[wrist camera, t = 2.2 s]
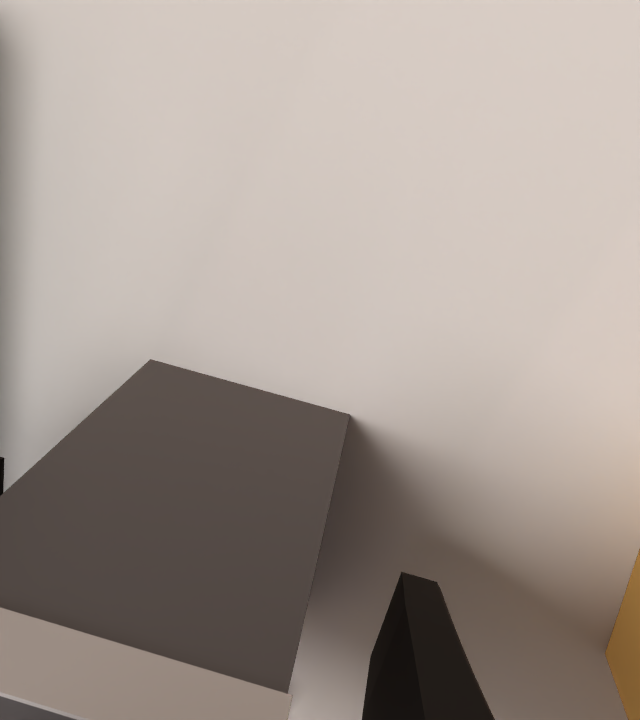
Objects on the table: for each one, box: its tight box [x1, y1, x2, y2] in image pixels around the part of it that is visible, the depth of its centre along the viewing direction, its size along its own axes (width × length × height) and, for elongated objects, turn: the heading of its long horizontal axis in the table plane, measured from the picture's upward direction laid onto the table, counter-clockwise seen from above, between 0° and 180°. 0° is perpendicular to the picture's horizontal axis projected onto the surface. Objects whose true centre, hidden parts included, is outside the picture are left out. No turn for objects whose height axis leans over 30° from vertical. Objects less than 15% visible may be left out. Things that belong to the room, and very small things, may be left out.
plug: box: [0, 359, 350, 720], centre depth 10 cm, size 4×5×7 cm
